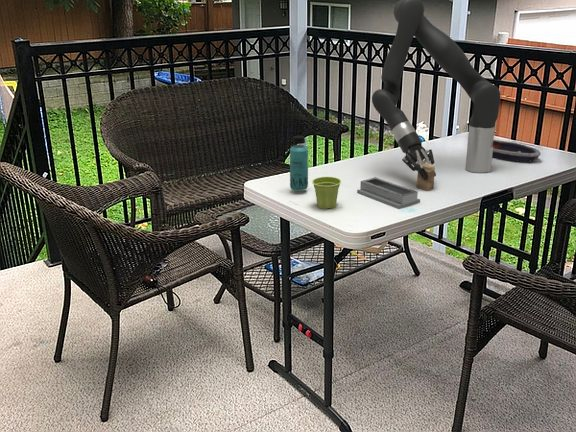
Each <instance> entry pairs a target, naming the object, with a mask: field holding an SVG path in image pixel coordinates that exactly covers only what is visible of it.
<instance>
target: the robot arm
mask: <svg viewBox="0 0 576 432" xmlns="http://www.w3.org/2000/svg"><path fill="white" fill-rule="evenodd" d="M424 13H425V6H424V3H423V1H422V0H398V1H397V2H396V3H395V5H394V7H393V16H394V19H395V20H396V22H397V28H396V32H395V36H394V39H393V41H392V43H391V44H392V45H390V46H391V47H390V48H389V50H388V53H387V56H386V59H385V62H384V65H383V69H382V73H381V76H380V78H381V81H382V82H383V88H381V89H377V90H375V91H373V94H372V95H371V103H372V105H373V107H374V109H375V110H376V112H377V113H378V114H379V115H380V116H381V117H382V119H383V120H384V121H385V122H386V125H387V126H388V127H389V129H390V130H391V132H392V135H393V138H394V140H395V141H396V143H397V144H398V146H399V148H400V150H401V152H402V153H403V154H405V156H404V157H403V158H402V159H401V161H402V162H403V163H404V164H405V165H406V166H407V167H408V168H409V169H410V170H411V171H413V172H415V171H416V172H417V173H418V172H419V173H420V175H421V177H422V178H423V179H424V180H427V179H428V178H429V176H428V174H427V172H426V171H425V169H424V168H423V165H422V163H426V164H429V165H433V166H434V164H435V158H434V153H433V150H432V149H426V148H425V147H424V146H422V145H423V141H422V139H421V138H420V136H419V134H418V133H417V131H416V129H415V128H414V126H413V125H412V123H411V122H410V121H409V119H408V117H407V116H406V114H405V113H404V111H403V110H402V109H400V108H398V107H397V104H398V102H399V99H400V91H401V90H400V89H401V88H400V86H401V78H402V75H403V73H404V68H405V64H406V62H407V57H408V53H409V51H410V48H411V45H412V41H413V39H414V38H415V39H416V40H417V41H418V42H419V43H420V45H421V46H422V47H423V48H424V50H425V51H426V52H427V53H428V55H429V56H430V57H431V58H432V59H433V60H434V61H435V62H436V64H437V65H438V66H439V67H440V68H442V69H443V70H444V72H445V73H447V74H448V75H449V76H450V77H451V78H453V79H454V80H455V81H456V82H457V83H458V84H459V85H460V87H461V88H462V89H463V90H464V91H465V93H466V94H467V95H468V97H469V99H470V100H471V101H472V103H473V111H472V116H471V117H470V119H469V125H468V135H467V136H468V137H467V145H466V156H465V167H464V168H465V170H466V171H468V172H470V173H471V172H472V173H478V174H481V173H482V174H483V173H485V174H486V173H491V171H492V162H493V157H492V154H493V140H495V139H494V138H495V131H496V130H495V129H496V122H497V120H498V117H499V113H500V112H499V111H500V106H501V105H500V104H501V91H500V89H499V87H497V86H496V85H495V84H494V83H492V82H490V81H489V80H487V79H486V78H484V77H483V76H482V75H481V74H480V73H479V72H478V71H477V70H476V69H475V68H474V67H473V65H472V63H471V62H470V60H469V58H468V57H467V55H466V53H465V52H464V51H463V50H462V48H461V47H460V46H459V45H458V44H457V43H456V42H455V41H454V39H452V37H450V36H449V35H448V34H446V33H445V32H444V31H442V30H441V29H439V28H437V27H436V26H435V25H433V23H432V22H431V21H430V20H429V19H428V18H427V17H426V16H425V14H424ZM418 165H419V166H418ZM436 176H437V172H435V173H434V178H435V177H436Z"/></svg>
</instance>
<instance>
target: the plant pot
mask: <svg viewBox="0 0 576 432" xmlns="http://www.w3.org/2000/svg"><path fill="white" fill-rule="evenodd" d="M311 182H312V184H313V188H314V192H315V199H316V204H317V207H318V208H320V209H324V210H327V209H334V208H336V206H337V202H338V201H337V200H338V195H339V188H340V185H341V183H342V179H340V178H338V177H336V176H335V177H334V176H320V177H316V178H313V179H312V181H311Z"/></svg>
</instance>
